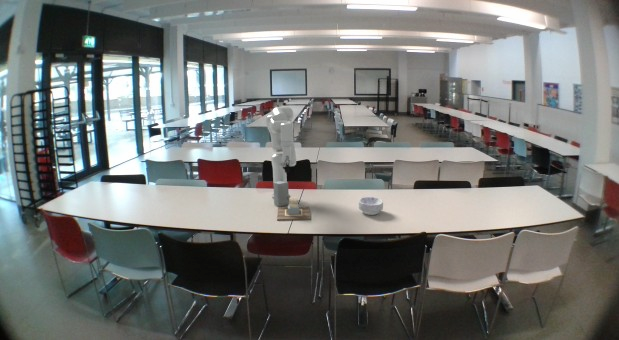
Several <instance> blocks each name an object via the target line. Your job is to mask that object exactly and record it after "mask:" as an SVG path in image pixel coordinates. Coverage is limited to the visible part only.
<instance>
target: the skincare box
mask: <svg viewBox="0 0 619 340" xmlns="http://www.w3.org/2000/svg"><path fill="white" fill-rule="evenodd" d="M273 194H274V198H273V205H275V206H277V208H278V207H286V206H288V205H289V198H290V195H289V196H288V194H289V182H288V181H287V182H285V181H278V182H274V183H273Z"/></svg>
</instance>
